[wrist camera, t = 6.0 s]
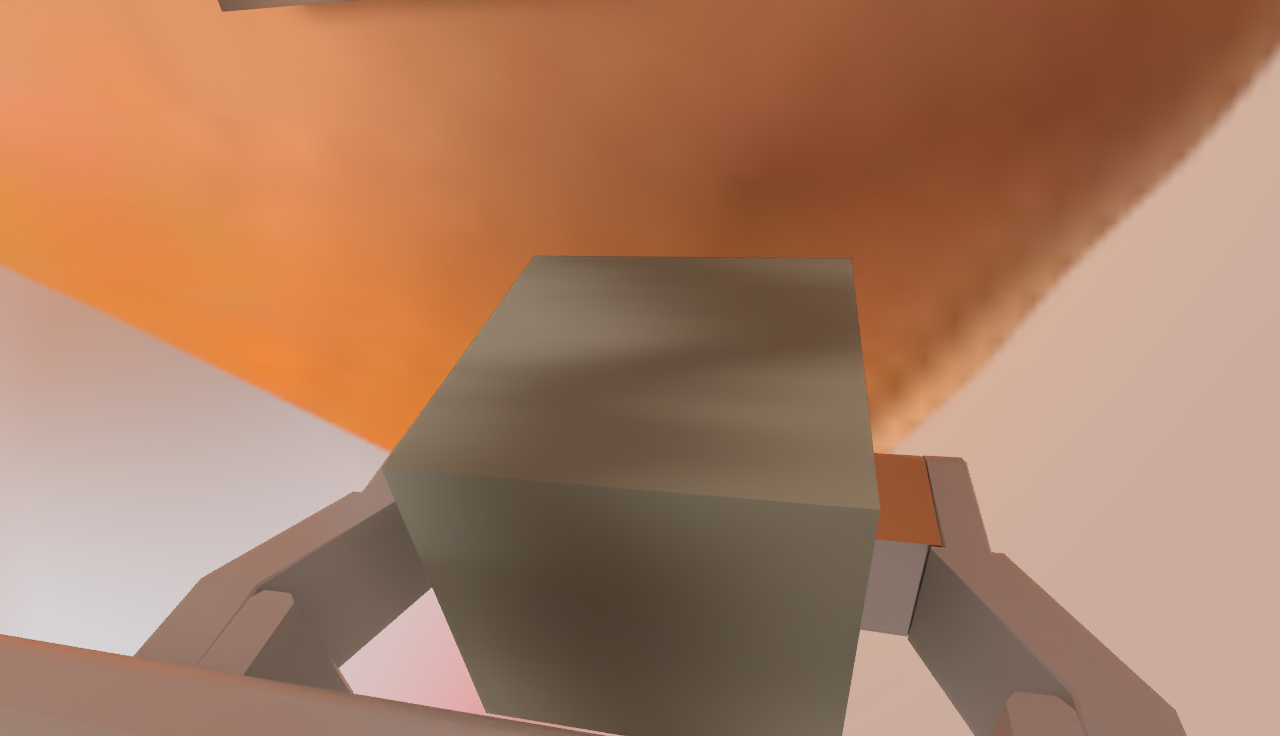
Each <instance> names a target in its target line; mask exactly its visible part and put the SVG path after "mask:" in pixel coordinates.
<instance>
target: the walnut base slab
mask: <svg viewBox="0 0 1280 736" xmlns="http://www.w3.org/2000/svg"><path fill="white" fill-rule="evenodd" d="M341 1H352V0H218V2H219V4H220V7H221V10H222V12H223V11H235V10H247V9H259V8H270V7H282V6H294V5H305V4H317V3H329V2H341Z"/></svg>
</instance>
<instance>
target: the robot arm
mask: <svg viewBox="0 0 1280 736" xmlns="http://www.w3.org/2000/svg"><path fill="white" fill-rule="evenodd" d="M411 426H412V425H411ZM411 426H410V427H411ZM408 430H409V429H408ZM408 430H407V431H408ZM406 433H407V432H406ZM406 433H405V434H406ZM403 437H404V436H403ZM403 437H402V438H403ZM401 440H402V439H401ZM401 440H400V441H401ZM400 441H399V442H400ZM398 444H399V443H398ZM398 444H397V445H398ZM397 445H396V446H397ZM395 448H396V447H395ZM395 448H394V449H395ZM393 451H394V450H393ZM393 451H392V452H393ZM392 452H391V453H392ZM390 455H391V454H390ZM390 455H389V456H390ZM389 456H388V458H389ZM388 458H387V459H388ZM387 459H386V460H387ZM874 460H875V469H876V478H877V486H878V495H879V504H880V514H879V520H878V526H877V532H876V538H875V544H874V549H873V555H872V561H871V567H870V573H869V579H868V585H867V591H866V597H865V602H864V608H863V614H862V620H861V626H860V629H861V630H868V631H874V632H882V633H888V634H895V635H901V636H908V640H909V642H910V643H911V645H912V646H913V648H914V649H915V650H916V652H917V653H918V654H919V656H920V658H921V659H922V661H923V662H924V663H925V665H926V666H927V667H928V669H929V671H930V672H931V673H932V675H933V676H934V678H935V679H936V681H937V682H938V683H939V685H940V686H941V687H942V689H943V690H944V692H945V693H946V695H947V696H948V698H949V699H950V700H951V702H952V703H953V705H954V706H955V708H956V709H957V710H958V712H959V713H960V715H961V716H962V718H963V719H964V720H965V722H966V724H967V725H968V726H969V728H970V729H971V731H972V732H973V734H974V735H975V736H1187V735H1186V733H1185V731H1184V729H1183V726H1182V724H1181V722H1180V719H1179V717H1178V715H1177V713H1176V710H1175V709H1174V708H1173V707H1171V706H1170V705H1169V704H1168V703H1167V702H1166V701H1165V700H1164V699H1163V698H1162V697H1161V696H1159V695H1158V694H1157V693H1156V692H1155V691H1154V690H1153V689H1151V687H1149V686H1148V685H1147V684H1146V683H1145V682H1144V681H1143V680H1142V679H1141V678H1140V677H1139V676H1137V675H1136V674H1135V673H1134V672H1133V671H1132V670H1131V669H1130V668H1129V667H1128V666H1127V665H1125V664H1124V663H1123V662H1122V661H1121V660H1120V659H1119V658H1118V657H1116V655H1114V654H1113V653H1112V652H1111V651H1110V650H1109V649H1108V648H1107V647H1105V646H1104V644H1102V643H1101V642H1100V641H1099V640H1098V639H1097V638H1096V637H1095V636H1094V635H1092V634H1091V633H1090V632H1089V631H1088V630H1087V629H1086V628H1085V627H1084V626H1083V625H1082V624H1080V623H1079V622H1078V621H1077V620H1076V619H1075V618H1074V617H1073V616H1072V615H1071V614H1070V613H1068V612H1067V611H1066V610H1065V609H1064V608H1063V607H1062V606H1060V604H1058V603H1057V602H1056V601H1055V600H1054V599H1053V598H1052V597H1051V596H1050V595H1048V593H1046V592H1045V591H1044V590H1043V589H1042V588H1041V587H1040V586H1039V585H1038V584H1037V583H1035V582H1034V581H1033V580H1032V579H1031V578H1030V577H1029V576H1028V575H1027V574H1026V573H1025V572H1023V571H1022V570H1021V569H1020V568H1019V567H1018V566H1017V565H1016V564H1014V562H1012V561H1011V560H1010V559H1009V558H1008V557H1007V556H1006V555H1005V554H1003V553H994V552H991V549H990V546H989V542H988V539H987V535H986V531H985V528H984V524H983V521H982V517H981V514H980V510H979V506H978V503H977V499H976V496H975V492H974V489H973V485H972V481H971V478H970V474H969V471H968V467H967V463H966V462H965V461H964V460H963V459H962V458H958V457H938V456H922V457H921V456H911V455H895V454H879V453H874ZM385 462H386V461H385ZM385 462H384V463H385ZM384 463H383V464H384ZM382 466H383V465H382ZM382 466H381V467H382ZM430 588H432V585H431V583H430V581H429V578H428V576H427V574H426V571H425V569H424V567H423V564H422V562H421V560H420V557H419V555H418V553H417V550H416V548H415V546H414V543H413V541H412V539H411V536H410V534H409V532H408V529H407V527H406V525H405V522H404V520H403V518H402V515H401V513H400V511H399V509H398V506H397V504H396V502H395V499H394V497H393V495H392V492H391V490H390V488H389V485H388V483H387V481H386V478H385V476H384V474H383V471H382V469H381V468H380V469H379V470H378V471H377V473H376V474H375V475H374V477H373V478H372V480H371V481H370V482H369V484H368V485H367V486H366V488H365V489H364V490H363V492H352V493H350V494H348V495H347V496H345V497H343V498H342V499H340V500H338V501H336V502H334V503H333V504H331V505H329V506H327V507H326V508H324V509H322V510H320V511H319V512H317V513H315V514H314V515H312V516H310V517H309V518H306V519H305V520H303V521H301V522H299V523H298V524H296V525H294V526H292V527H291V528H289V529H287V530H286V531H284V532H282V533H280V534H278V535H276V536H275V537H273V538H271V539H269V540H268V541H266V542H264V543H262V544H261V545H259V546H257V547H255V548H254V549H252V550H250V551H248V552H247V553H245V554H243V555H241V556H240V557H238V558H237V559H234V560H233V561H231V562H229V563H227V564H226V565H224V566H222V567H220V568H219V569H217V570H215V571H213V572H212V573H210V574H208V575H206V576H205V577H203V578H201V579H200V580H199V582H198V583H197V584H196V585H195V586H194V587H193V588H192V590H191V591H190V592H189V593H188V594H187V595H186V596H185V598H184V599H183V600H182V601H181V602H180V603H179V605H178V606H177V607H176V608H175V609H174V610H173V612H172V613H171V614H170V615H169V616H168V617H167V618H166V620H165V621H164V622H163V623H162V624H161V625H160V626H159V627H158V629H157V630H156V631H155V632H154V633H153V634H152V636H151V637H150V638H149V639H148V640H147V641H146V642H145V644H144V645H143V646H142V647H141V648H140V649H139V650H138V652H137V653H136V654H135V655H134V656H133V657H132V656H126V655H120V654H114V653H107V652H102V651H96V650H90V649H84V648H78V647H72V646H67V645H60V644H55V643H49V642H43V641H37V640H31V639H25V638H19V637H13V636H7V635H2V634H0V736H603V735H597V734H591V733H585V732H579V731H573V730H567V729H561V728H555V727H549V726H543V725H537V724H531V723H525V722H519V721H513V720H507V719H501V718H495V717H489V716H483V715H477V714H471V713H465V712H459V711H453V710H447V709H441V708H435V707H430V706H424V705H417V704H412V703H406V702H400V701H393V700H387V699H381V698H376V697H369V696H364V695H358V694H353V691H352V689H351V688H350V686H349V684H348V683H347V681H346V680H345V678H344V677H343V675H342V674H341V672H340V670H339V669H338V668H339V667H340V666H341V665H343V664H344V663H345V662H346V661H347V660H348V659H349V658H351V657H352V656H353V655H354V654H355V653H356V652H357V651H359V650H360V649H361V648H362V647H363V646H365V645H366V644H367V643H368V642H369V641H370V640H371V639H373V638H374V637H375V636H376V635H377V634H378V633H380V632H381V631H382V630H383V629H384V628H385V627H386V626H388V625H389V624H390V623H391V622H392V621H393V620H395V619H396V618H397V617H398V616H399V615H400V614H401V613H403V612H404V611H405V610H406V609H407V608H408V607H410V606H411V605H412V604H413V603H414V602H415V601H416V600H417V599H419V598H420V597H421V596H422V595H423V594H424V593H426V592H427V591H428V590H429V589H430Z"/></svg>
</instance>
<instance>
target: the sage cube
mask: <svg viewBox="0 0 1280 736" xmlns="http://www.w3.org/2000/svg"><path fill="white" fill-rule="evenodd" d="M381 469H382V471H383V474H384V476H385V478H386V481H387V483H388V485H389V488H390V490H391V492H392V495H393V497H394V499H395V502H396V504H397V506H398V509H399V511H400V513H401V515H402V518H403V520H404V522H405V525H406V527H407V529H408V532H409V534H410V536H411V539H412V541H413V543H414V546H415V548H416V550H417V553H418V555H419V557H420V560H421V562H422V564H423V567H424V569H425V571H426V574H427V576H428V578H429V581H430V583H431V585H432V588H433V590H434V592H435V595H436V597H437V599H438V602H439V604H440V606H441V608H442V611H443V613H444V615H445V618H446V620H447V622H448V625H449V627H450V630H451V632H452V634H453V637H454V639H455V641H456V644H457V646H458V648H459V650H460V653H461V655H462V657H463V660H464V662H465V664H466V667H467V669H468V671H469V674H470V676H471V678H472V681H473V683H474V685H475V688H476V690H477V692H478V695H479V697H480V699H481V702H482V704H483V706H484V708H485V711H486V713H491V714H497V715H503V716H509V717H516V718H521V719H527V720H533V721H539V722H546V723H551V724H558V725H563V726H569V727H576V728H581V729H587V730H593V731H599V732H606V733H612V734H618V735H624V736H842V732H843V726H844V720H845V714H846V708H847V703H848V696H849V691H850V685H851V679H852V673H853V667H854V661H855V655H856V649H857V643H858V638H859V632H860V626H861V620H862V614H863V608H864V602H865V597H866V591H867V585H868V579H869V573H870V567H871V561H872V555H873V549H874V544H875V538H876V532H877V526H878V520H879V514H880V504H879V495H878V486H877V478H876V469H875V460H874V451H873V443H872V434H871V425H870V417H869V408H868V399H867V391H866V382H865V373H864V364H863V356H862V347H861V338H860V330H859V321H858V312H857V304H856V295H855V286H854V277H853V269H852V260H851V258H748V257H622V256H534V257H533V258H532V260H531V261H530V263H529V264H528V265H527V267H526V268H525V269H524V271H523V272H522V274H521V275H520V276H519V278H518V279H517V281H516V282H515V283H514V285H513V286H512V287H511V289H510V290H509V292H508V293H507V294H506V296H505V297H504V299H503V300H502V301H501V303H500V304H499V305H498V307H497V308H496V310H495V311H494V312H493V314H492V315H491V316H490V318H489V319H488V321H487V322H486V323H485V325H484V326H483V328H482V329H481V330H480V332H479V333H478V334H477V336H476V337H475V339H474V340H473V341H472V343H471V344H470V346H469V347H468V348H467V350H466V351H465V352H464V354H463V355H462V357H461V358H460V359H459V361H458V362H457V363H456V365H455V366H454V368H453V369H452V370H451V372H450V373H449V375H448V376H447V377H446V379H445V380H444V381H443V383H442V384H441V386H440V387H439V388H438V390H437V391H436V393H435V394H434V395H433V397H432V398H431V399H430V401H429V402H428V404H427V405H426V406H425V408H424V409H423V411H422V412H421V413H420V415H419V416H418V417H417V419H416V420H415V422H414V423H413V424H412V426H411V427H410V428H409V430H408V431H407V433H406V434H405V435H404V437H403V438H402V440H401V441H400V442H399V444H398V445H397V446H396V448H395V449H394V451H393V452H392V453H391V455H390V456H389V458H388V459H387V460H386V462H385V463H384V464H383V466H382V467H381Z"/></svg>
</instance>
